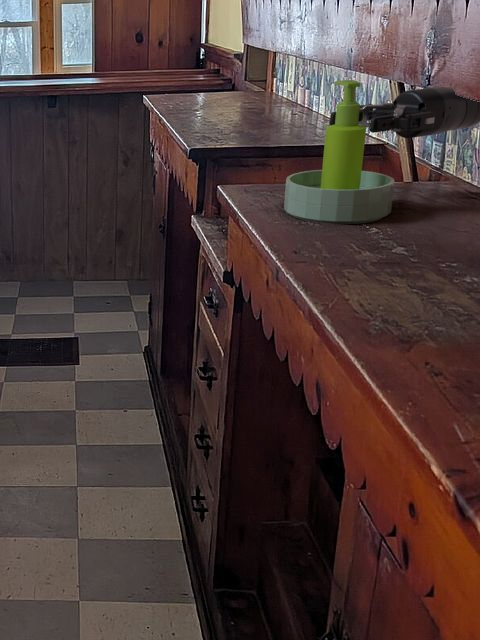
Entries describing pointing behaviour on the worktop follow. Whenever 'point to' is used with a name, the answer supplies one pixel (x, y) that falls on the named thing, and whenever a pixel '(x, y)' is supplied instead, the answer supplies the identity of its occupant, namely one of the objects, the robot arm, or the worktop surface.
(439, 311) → the worktop surface
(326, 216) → the bowl
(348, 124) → the soap dispenser
